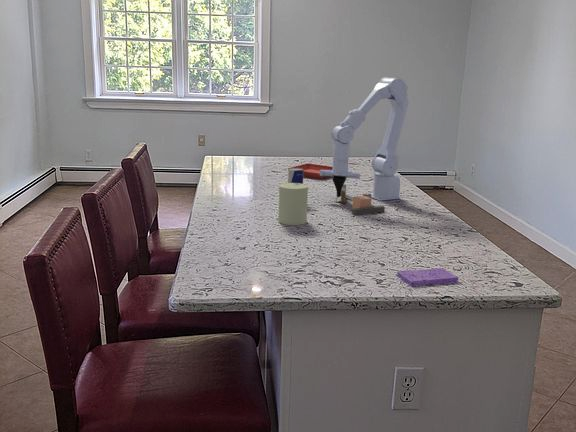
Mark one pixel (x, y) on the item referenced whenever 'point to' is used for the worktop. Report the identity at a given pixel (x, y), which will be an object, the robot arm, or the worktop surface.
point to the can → (293, 203)
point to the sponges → (427, 276)
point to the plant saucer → (312, 170)
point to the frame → (352, 197)
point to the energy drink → (295, 175)
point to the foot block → (361, 202)
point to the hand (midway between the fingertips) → (338, 196)
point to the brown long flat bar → (343, 195)
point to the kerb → (368, 210)
